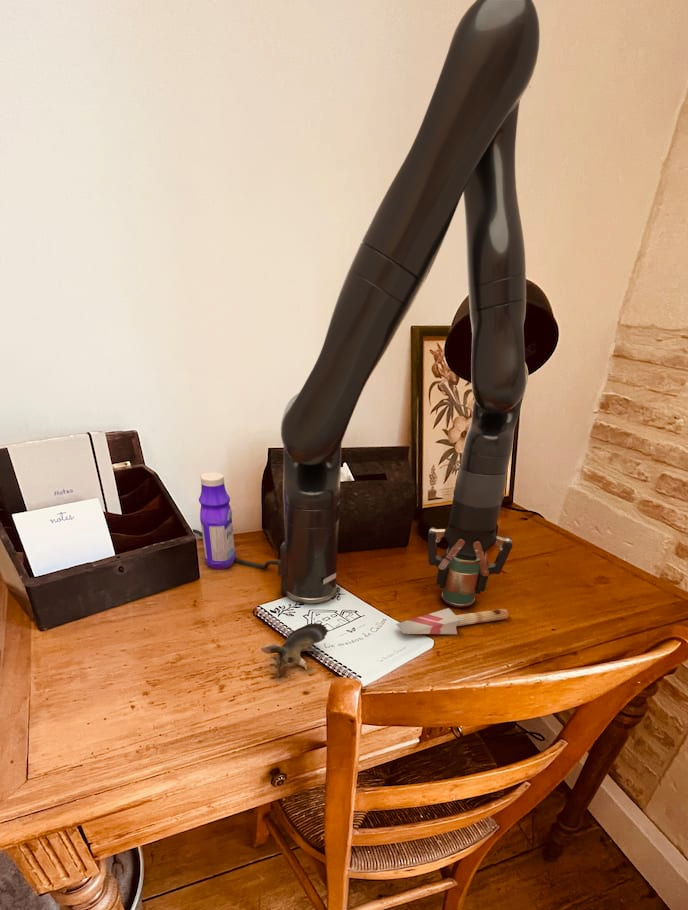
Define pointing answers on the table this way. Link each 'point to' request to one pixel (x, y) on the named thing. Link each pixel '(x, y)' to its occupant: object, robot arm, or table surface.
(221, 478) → the bottle
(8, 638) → the table surface
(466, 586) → the tin can
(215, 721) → the table surface
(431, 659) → the table surface
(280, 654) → the bushy tailed squirrel toy
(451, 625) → the paintbrush
